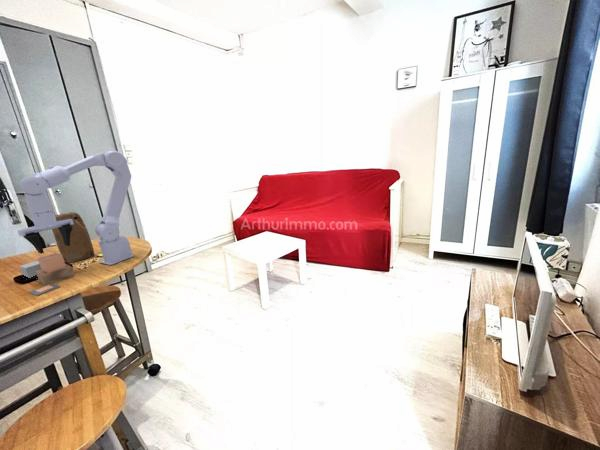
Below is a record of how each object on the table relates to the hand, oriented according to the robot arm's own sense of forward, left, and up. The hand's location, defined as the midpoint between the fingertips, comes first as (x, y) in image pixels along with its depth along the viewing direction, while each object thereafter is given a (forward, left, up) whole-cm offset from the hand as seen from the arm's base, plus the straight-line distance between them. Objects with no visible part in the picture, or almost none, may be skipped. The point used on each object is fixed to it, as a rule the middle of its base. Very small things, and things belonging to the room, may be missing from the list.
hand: (55, 249), depth 94 cm
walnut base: (+2, 0, -11) cm, 11 cm away
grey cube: (+4, -10, -11) cm, 15 cm away
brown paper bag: (-12, -14, -11) cm, 21 cm away
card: (+8, +8, -10) cm, 15 cm away
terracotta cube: (+2, +1, -7) cm, 7 cm away
